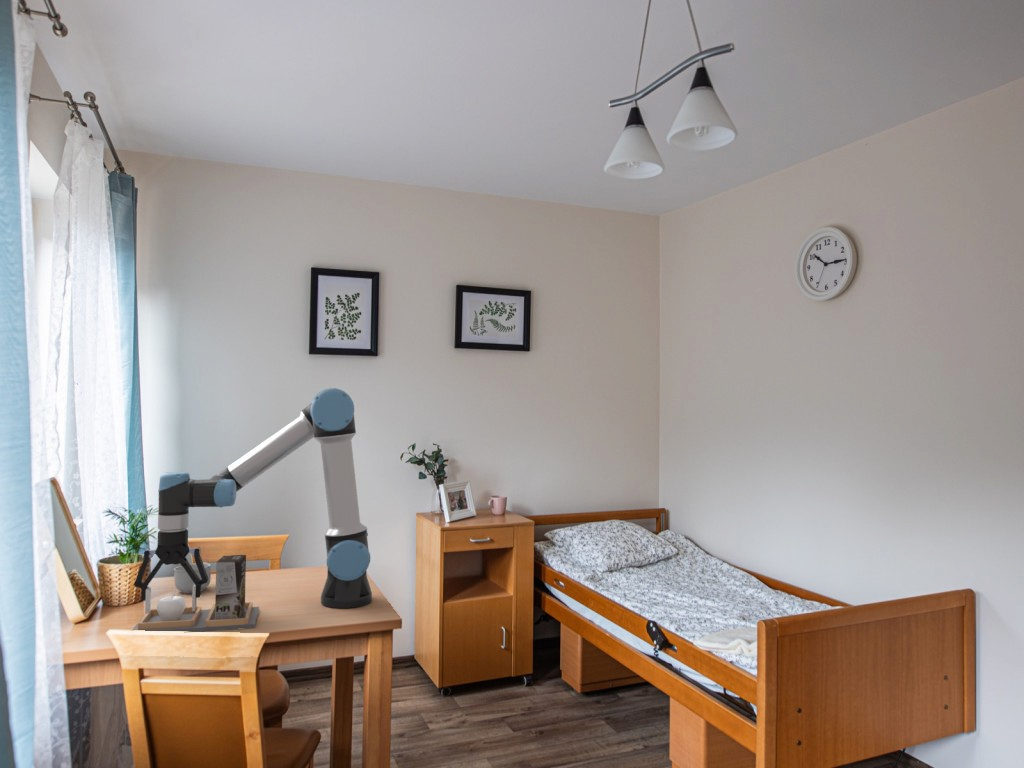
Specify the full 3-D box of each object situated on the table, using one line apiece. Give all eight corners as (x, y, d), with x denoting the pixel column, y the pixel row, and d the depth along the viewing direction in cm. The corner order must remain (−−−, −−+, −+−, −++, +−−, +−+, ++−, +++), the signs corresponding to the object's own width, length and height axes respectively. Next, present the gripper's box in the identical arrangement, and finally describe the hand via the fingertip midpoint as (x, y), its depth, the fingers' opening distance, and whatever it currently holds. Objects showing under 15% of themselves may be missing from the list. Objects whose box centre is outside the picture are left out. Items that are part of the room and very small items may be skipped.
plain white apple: (190, 620, 198) (190, 590, 198) (163, 625, 192) (164, 595, 192) (178, 614, 202) (178, 585, 202) (151, 620, 197) (152, 590, 197)
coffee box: (238, 621, 197) (240, 561, 198) (213, 621, 196) (215, 561, 197) (245, 611, 206) (247, 554, 207) (221, 612, 205) (223, 554, 206)
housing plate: (258, 610, 211) (259, 601, 211) (254, 627, 195) (254, 618, 195) (145, 616, 203) (145, 607, 203) (130, 635, 187) (131, 626, 187)
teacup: (193, 597, 224) (193, 571, 224) (165, 593, 227) (165, 568, 228) (224, 586, 237) (225, 561, 237) (197, 583, 241) (198, 559, 241)
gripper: (220, 525, 205) (219, 604, 204) (129, 528, 198) (127, 609, 198) (217, 530, 197) (215, 612, 197) (122, 533, 191) (120, 617, 191)
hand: (171, 610), depth 197 cm, fingers open, 11 cm apart
